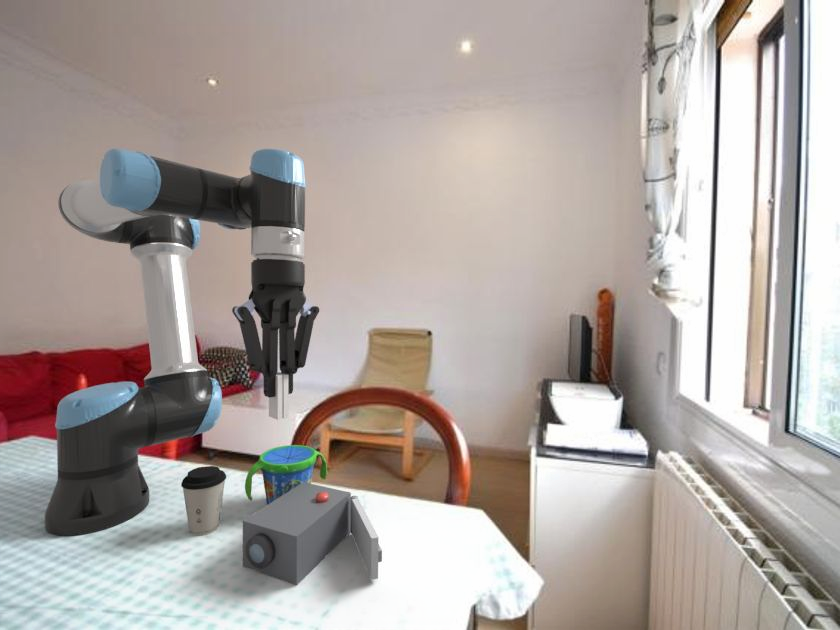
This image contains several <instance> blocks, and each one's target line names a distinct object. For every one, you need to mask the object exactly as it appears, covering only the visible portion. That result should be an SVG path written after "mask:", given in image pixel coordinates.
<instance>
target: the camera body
mask: <svg viewBox="0 0 840 630" xmlns="http://www.w3.org/2000/svg"><path fill="white" fill-rule="evenodd" d="M351 496H352V493H351V492H349V491H345V490H341V489H337V488H332V487H327V486H323V485H319V484H315V483H311V484H310V483H306V482H303V483H301V484H299V485H298V486H296V487H295V488H293V489H292V490H290V491H289V492H287V493H285V494H284V495H282V496H281V497H279V498H278V499H276V500H274V501H273V502H271V503H270V504H268V505H267V504H266V505H265V506H264V507H261V508H260V509H259V510H257V511H256V512H254V513H253V514H250V515H249V516H248V517H246V518H244V519H243V520H242V568H246V569H248V570H251V571H255V572H256V573H257V572H258V573H260V574H263V575H265V576H269V577H271V578H274V579H277V580H281V581H282V582H287V583H289V584H291V585H294V586H298V585H299V584H300V583H301V582H302V581H303V580H304V579H305V578H306V577H307V576H308V575H309V574H310V573H311V572H312V571H313V570H314V569H315V568H316V567H317V566H318V565H319V564H320V563H321V562H322V561H323V560H324V559H325V558H326V557H328V555H330V553H332V551H333V550H335V548H336V547H338V546H339V544H340V543H342V541H344V540H345V539H346V538H347V536H349V534H351V533H350V521H351Z"/></svg>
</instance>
